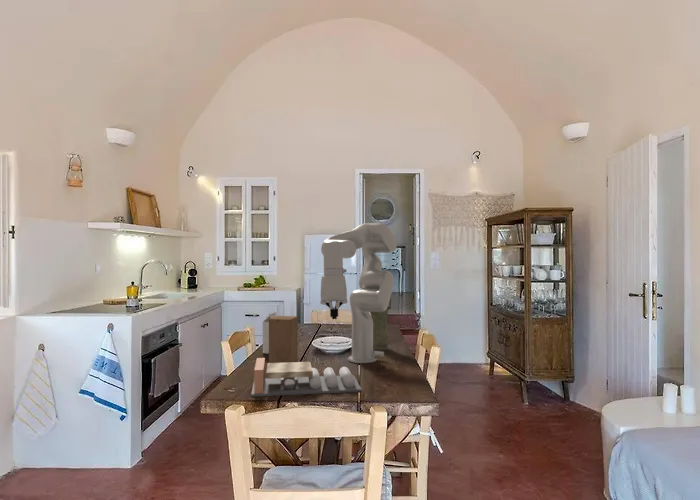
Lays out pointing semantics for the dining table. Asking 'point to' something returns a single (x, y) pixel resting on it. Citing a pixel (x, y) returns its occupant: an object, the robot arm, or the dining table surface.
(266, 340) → the milk carton
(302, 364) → the slab
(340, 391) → the roller bed
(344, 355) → the dining table surface
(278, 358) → the wooden block
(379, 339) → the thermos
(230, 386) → the dining table surface
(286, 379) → the roller
